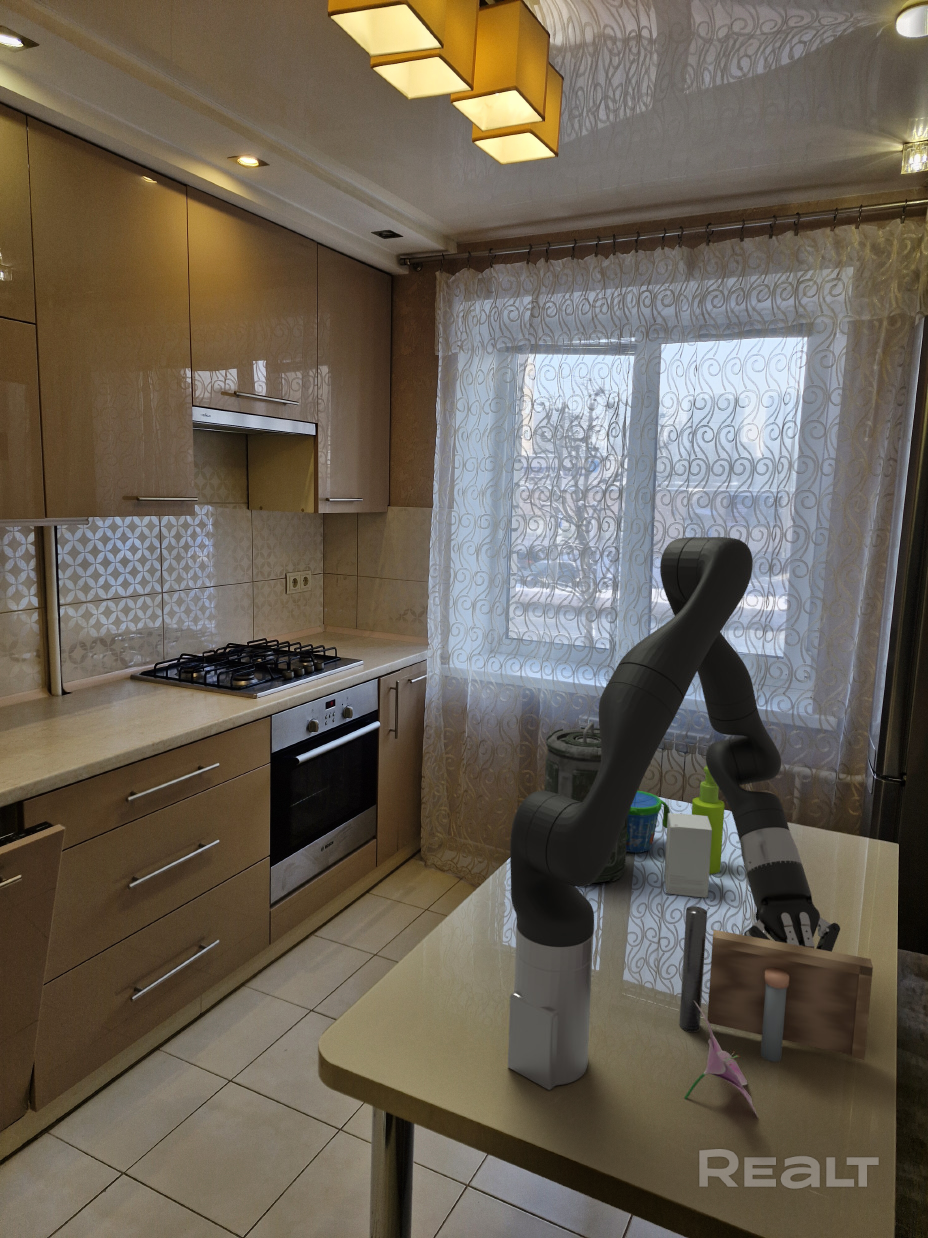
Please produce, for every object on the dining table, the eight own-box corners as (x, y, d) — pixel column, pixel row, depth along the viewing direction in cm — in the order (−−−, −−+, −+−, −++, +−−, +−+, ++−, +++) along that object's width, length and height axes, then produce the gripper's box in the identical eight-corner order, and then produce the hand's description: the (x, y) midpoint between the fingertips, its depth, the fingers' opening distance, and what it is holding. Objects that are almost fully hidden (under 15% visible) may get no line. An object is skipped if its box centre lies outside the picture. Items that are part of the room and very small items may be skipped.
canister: (550, 846, 163) (555, 711, 160) (629, 858, 159) (636, 719, 155) (532, 879, 148) (538, 731, 145) (619, 893, 144) (627, 740, 140)
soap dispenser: (725, 864, 157) (731, 764, 154) (715, 877, 151) (722, 773, 149) (695, 856, 160) (701, 759, 158) (684, 869, 154) (690, 767, 152)
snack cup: (604, 859, 158) (606, 809, 157) (587, 838, 168) (589, 791, 167) (679, 855, 160) (682, 806, 159) (658, 835, 171) (661, 788, 170)
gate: (707, 1025, 104) (712, 937, 103) (707, 1016, 106) (713, 929, 105) (864, 1060, 98) (872, 967, 97) (862, 1050, 100) (870, 959, 99)
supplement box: (708, 899, 142) (712, 830, 141) (665, 894, 144) (669, 826, 142) (704, 880, 150) (708, 815, 148) (663, 876, 151) (667, 811, 149)
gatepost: (694, 1035, 104) (702, 918, 102) (675, 1026, 106) (682, 911, 104) (702, 1025, 106) (710, 910, 104) (684, 1017, 108) (691, 904, 106)
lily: (740, 1165, 85) (787, 1087, 85) (642, 1085, 90) (686, 1012, 90) (746, 1124, 96) (788, 1055, 96) (659, 1055, 101) (698, 989, 101)
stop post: (778, 1066, 99) (784, 983, 97) (755, 1056, 101) (761, 975, 99) (786, 1055, 101) (792, 974, 100) (763, 1045, 103) (769, 965, 101)
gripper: (737, 860, 109) (774, 999, 98) (830, 857, 110) (876, 994, 100) (718, 878, 115) (751, 1011, 104) (807, 875, 116) (848, 1007, 106)
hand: (812, 1003), depth 102 cm, fingers closed
